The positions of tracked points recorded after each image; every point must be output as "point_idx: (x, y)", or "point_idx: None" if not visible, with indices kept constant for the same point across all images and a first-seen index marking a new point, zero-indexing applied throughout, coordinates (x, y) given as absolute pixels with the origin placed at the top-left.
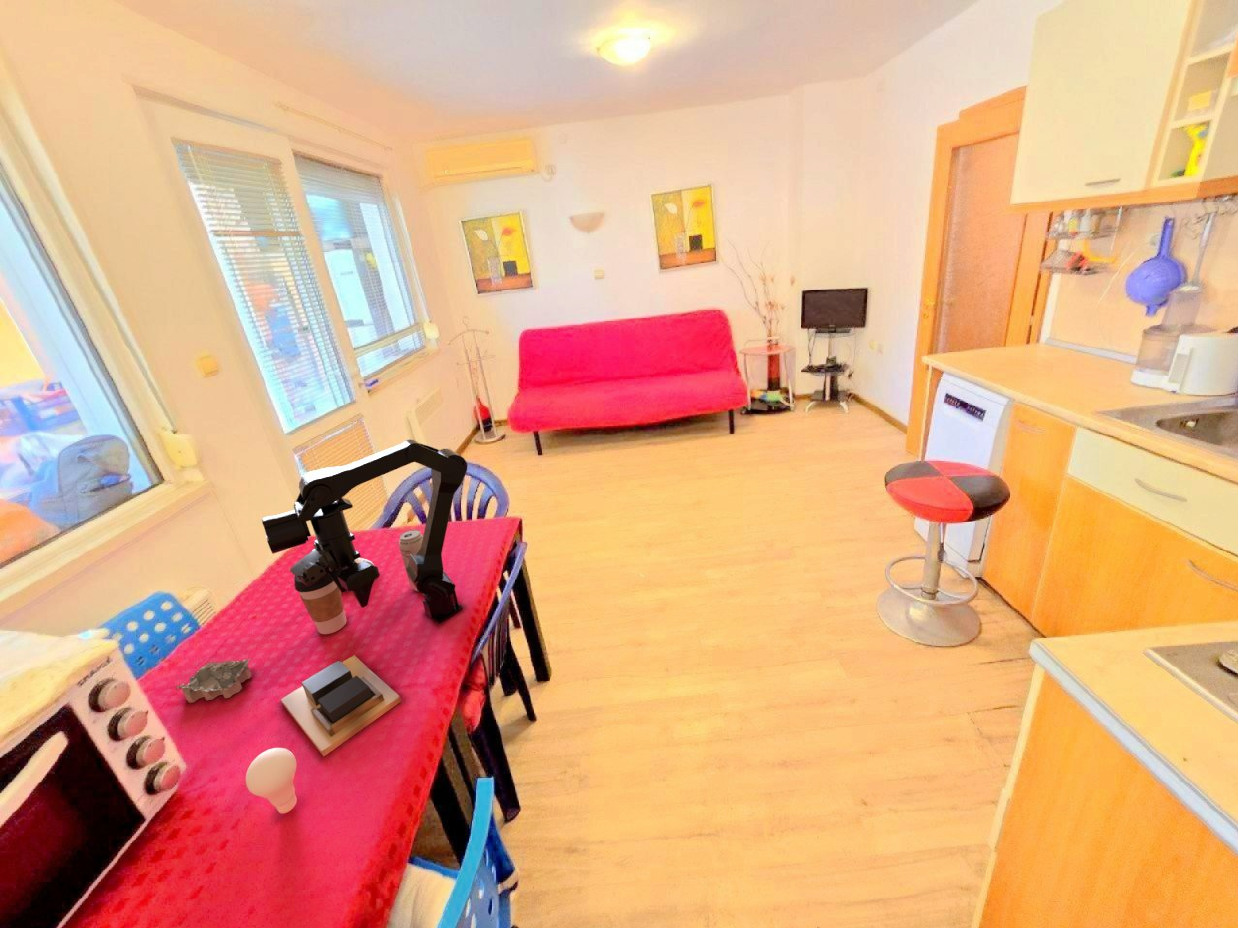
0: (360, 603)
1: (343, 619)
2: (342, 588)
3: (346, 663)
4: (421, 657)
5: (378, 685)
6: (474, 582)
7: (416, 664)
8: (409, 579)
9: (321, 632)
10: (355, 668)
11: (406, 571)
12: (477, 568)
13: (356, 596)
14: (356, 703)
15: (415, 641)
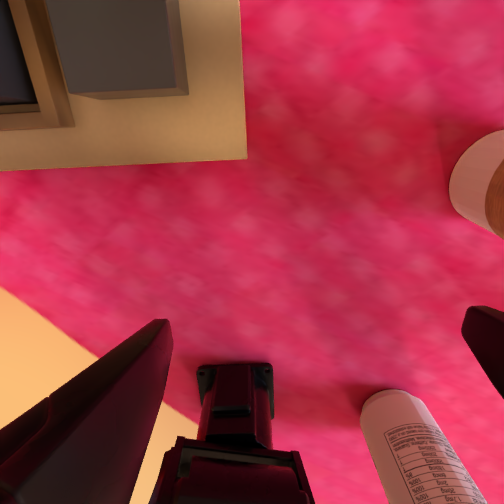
0: (122, 345)
1: (466, 213)
2: (491, 334)
3: (223, 121)
4: (101, 282)
5: (30, 150)
6: None
7: (82, 262)
8: (414, 422)
9: (495, 132)
10: (171, 133)
11: (438, 450)
12: (323, 491)
13: (21, 415)
14: None
15: (180, 301)
